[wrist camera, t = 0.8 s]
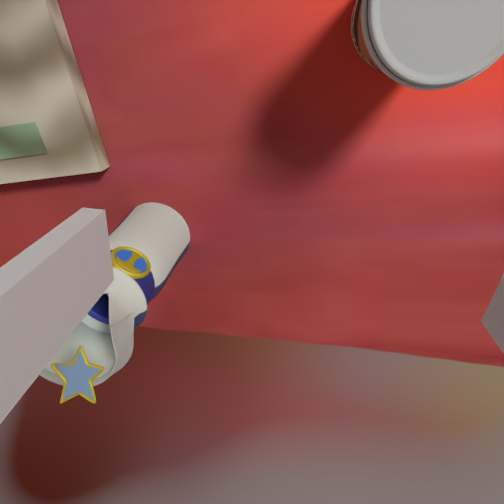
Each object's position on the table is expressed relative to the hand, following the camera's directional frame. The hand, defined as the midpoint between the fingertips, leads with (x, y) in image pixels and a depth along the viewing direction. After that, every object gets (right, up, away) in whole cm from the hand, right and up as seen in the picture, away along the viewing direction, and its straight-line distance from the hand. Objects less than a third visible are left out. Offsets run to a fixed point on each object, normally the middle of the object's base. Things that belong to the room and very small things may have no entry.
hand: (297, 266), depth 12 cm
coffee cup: (+11, +20, +19) cm, 29 cm away
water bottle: (-13, +3, +30) cm, 33 cm away
